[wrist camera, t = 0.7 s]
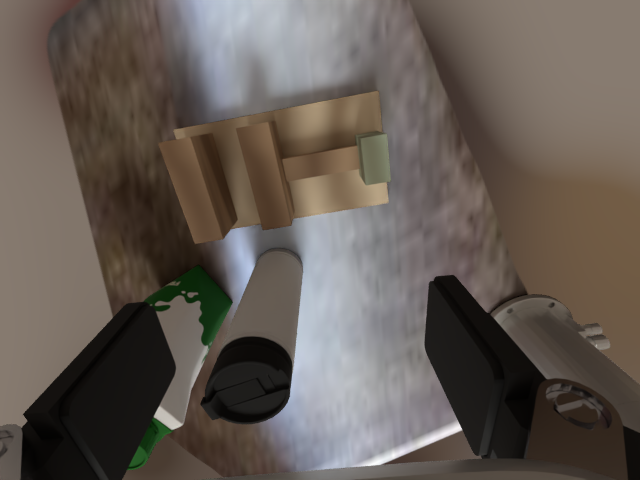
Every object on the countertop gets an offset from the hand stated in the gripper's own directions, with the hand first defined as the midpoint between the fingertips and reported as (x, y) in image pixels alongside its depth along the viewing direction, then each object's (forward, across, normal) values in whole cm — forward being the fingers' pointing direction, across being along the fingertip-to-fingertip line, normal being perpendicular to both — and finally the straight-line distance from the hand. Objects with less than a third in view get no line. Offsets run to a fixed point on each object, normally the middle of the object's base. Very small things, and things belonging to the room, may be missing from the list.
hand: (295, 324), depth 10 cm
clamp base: (+27, +2, -1) cm, 27 cm away
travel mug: (+27, +5, +13) cm, 30 cm away
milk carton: (+27, +17, +16) cm, 36 cm away
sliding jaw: (+25, -2, -1) cm, 26 cm away
